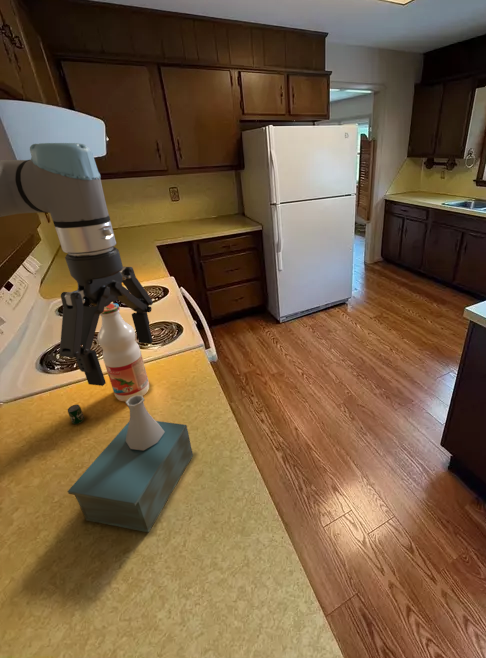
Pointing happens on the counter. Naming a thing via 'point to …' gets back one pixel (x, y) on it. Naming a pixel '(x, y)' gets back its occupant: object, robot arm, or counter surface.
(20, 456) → the counter surface
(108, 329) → the fruit juice
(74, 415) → the beer can
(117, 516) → the chest
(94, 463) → the lid
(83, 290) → the robot arm
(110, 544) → the counter surface
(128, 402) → the flask
